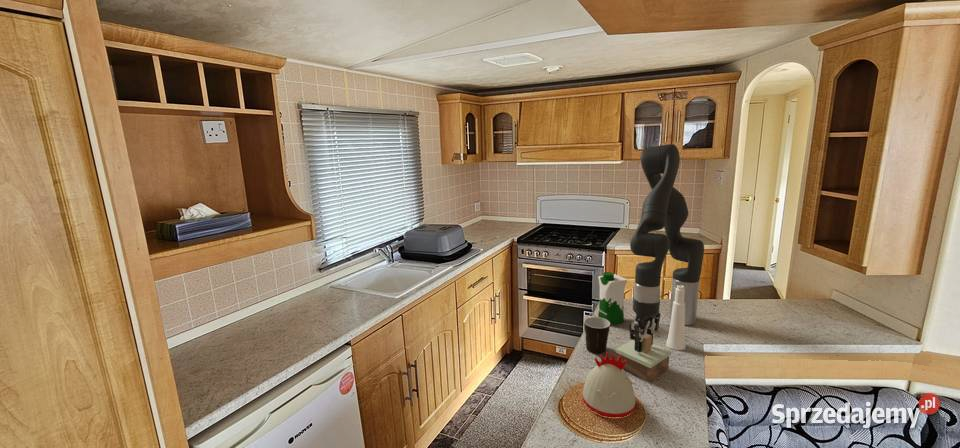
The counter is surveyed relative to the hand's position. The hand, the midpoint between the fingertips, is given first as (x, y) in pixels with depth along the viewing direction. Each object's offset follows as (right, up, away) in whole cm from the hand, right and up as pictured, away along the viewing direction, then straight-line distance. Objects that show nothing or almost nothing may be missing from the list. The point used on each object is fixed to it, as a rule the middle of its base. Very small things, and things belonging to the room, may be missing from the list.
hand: (643, 347), depth 123 cm
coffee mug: (-12, -5, +12) cm, 18 cm away
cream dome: (-15, -11, -14) cm, 23 cm away
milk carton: (+1, 0, +34) cm, 34 cm away
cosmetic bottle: (+17, -4, +14) cm, 22 cm away
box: (0, -7, +1) cm, 7 cm away
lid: (0, -2, 0) cm, 2 cm away
